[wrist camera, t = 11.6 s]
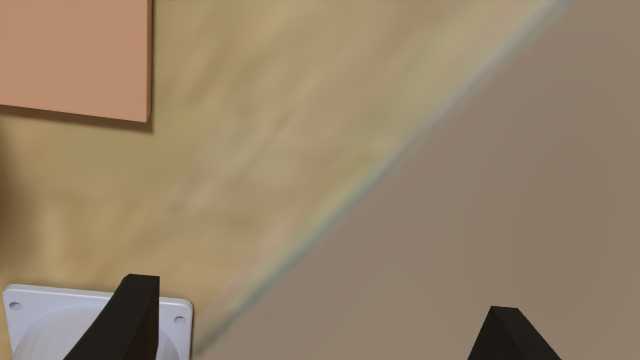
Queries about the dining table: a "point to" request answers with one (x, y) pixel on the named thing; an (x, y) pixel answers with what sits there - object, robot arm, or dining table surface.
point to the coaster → (77, 56)
